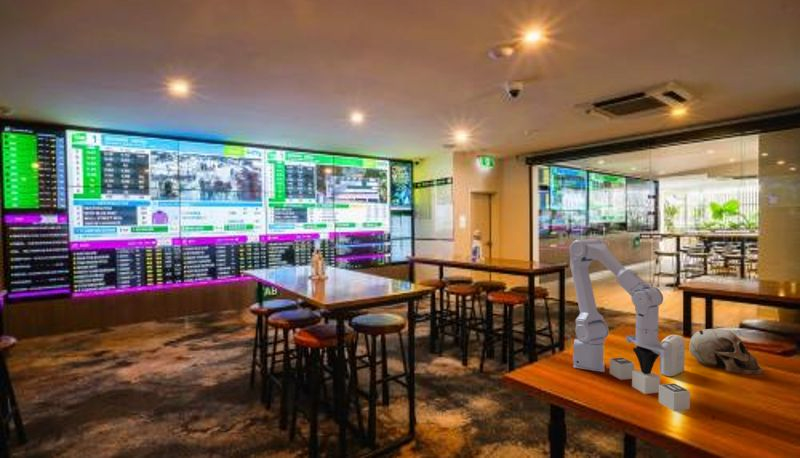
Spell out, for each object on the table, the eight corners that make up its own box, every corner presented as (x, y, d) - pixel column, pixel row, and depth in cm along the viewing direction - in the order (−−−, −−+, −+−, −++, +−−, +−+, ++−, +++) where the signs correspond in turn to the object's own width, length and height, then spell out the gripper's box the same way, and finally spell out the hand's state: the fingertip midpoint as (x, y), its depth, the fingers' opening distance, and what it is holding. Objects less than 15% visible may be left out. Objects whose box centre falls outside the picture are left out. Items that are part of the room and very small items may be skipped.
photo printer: (671, 366, 137) (672, 331, 136) (686, 370, 133) (687, 334, 133) (657, 373, 131) (658, 336, 130) (672, 378, 128) (673, 340, 127)
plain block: (632, 386, 122) (632, 370, 122) (646, 385, 123) (646, 369, 123) (644, 394, 117) (645, 377, 117) (659, 392, 118) (659, 376, 118)
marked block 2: (658, 402, 112) (658, 383, 112) (673, 400, 113) (674, 382, 113) (673, 411, 107) (674, 391, 107) (689, 409, 108) (689, 390, 108)
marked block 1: (609, 373, 132) (609, 357, 132) (622, 372, 133) (623, 356, 133) (620, 379, 127) (620, 363, 127) (634, 378, 128) (634, 362, 128)
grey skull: (770, 373, 130) (766, 333, 129) (719, 380, 129) (714, 340, 129) (729, 357, 145) (725, 321, 145) (683, 363, 145) (679, 327, 144)
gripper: (679, 334, 113) (678, 381, 113) (639, 320, 127) (639, 362, 128) (657, 336, 112) (656, 383, 112) (620, 322, 126) (619, 364, 126)
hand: (646, 372), depth 120 cm, fingers closed
